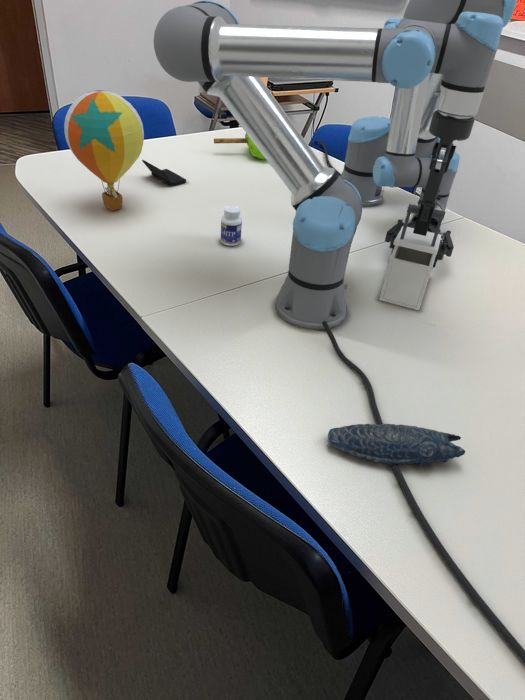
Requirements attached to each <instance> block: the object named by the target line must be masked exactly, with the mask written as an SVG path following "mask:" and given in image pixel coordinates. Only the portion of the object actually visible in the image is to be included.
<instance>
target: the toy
mask: <svg viewBox="0 0 525 700" xmlns="http://www.w3.org/2000/svg"><path fill="white" fill-rule="evenodd" d="M63 128H64V130H63V131H64V132H63V133H64V137H65V141H66V144H67V146H68V148H69V150H70V151H71V152H72V154H73V156H75V158H76V159H77V161H78V162H80V163H81V165H83V166H84V167H85V168H86V169H87V170H88V171H90V172H91V173H92V174H93V175H94V176H96V177H97V178H98V179H100V180H101V183H102V184H101V185H102V187H103V191H102V193H101V198H102V203H103V205H104V207H105V208H106V209H108V210H109V211H110V212H113V211H118V210H121V209H122V208H123V203H124V201H123V195H122V194H121V193H120V192H119V191H118V190H119V188H120V183H118V182H120V181H121V178H122V177H123V176H124V175H125V174H126V173H127V172H128V171H129V170H130V169H131V167H133V165H134V164H135V163H136V161H137V160H138V159H139V158H140V155H141V153H142V150H143V147H144V141H145V131H144V130H145V129H144V125H143V121H142V119H141V116H140V114H139V113H138V111H137V109H136V108H134V106H133V105H132V103H130V102H129V101H128V100H127V99H126V98H124V97H123V96H122V95H119V94H117V93H115V92H112V91H109V90H102V89H101V90H100V89H98V90H92V91H87V92H85V93H82V95H79V96H78V97H77V98H76V99H75V100H73V102H72V103H71V105H70V107H69V108H68V111H67V112H66V114H65V118H64V124H63ZM104 183H105V184H106V185H107V186H106V187H105V186H104ZM115 183H118V185H117V190H116V188H115Z"/></svg>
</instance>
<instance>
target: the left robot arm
mask: <svg viewBox="0 0 525 700" xmlns="http://www.w3.org/2000/svg"><path fill="white" fill-rule="evenodd" d="M503 29H504V27H503V20H502V18H501V17H499V16H497V15H493V14H487V13H479V12H462V13H461V14H460V15H459V18H458V20H457V21H456V24H440V23H433V22H426V21H418V20H411V19H408V18H403V17H401V18H396V17H389V18H388V19H387V20H386V21H385V22H384V25H383V27H382V28H379V27H351V26H350V27H349V26H347V27H346V26H312V25H277V24H273V25H272V24H240V22H239V19H238V18H237V16H236V15H235V13H234V12H233V11H232V10H231V9H229V8H228V7H227V6H225V5H224V4H222V3H220V2H217V1H213V0H199V1H195V2H193V3H191V4H187V5H180V6H176V7H173V8H171V9H169V10H168V11H166V12H165V13H164V14H163V15H161V17H160V19H159V20H158V22H157V24H156V26H155V29H154V33H153V49H154V54H155V57H156V59H157V61H158V63H159V65H160V67H161V68H162V69H163V70H164V72H165V73H167V74H168V75H169V76H170V77H171V78H174V79H176V80H178V81H181V82H186V83H195V82H197V84H199V86H200V87H201V88H202V89H203V91H204V92H205V93H206V95H208V96H215V97H218V98H219V99H220V101H222V103H223V104H224V105H225V107H226V108H227V110H228V111H229V112H230V113H231V115H232V116H233V117H234V119H235V120H236V122H237V123H238V124H239V125H240V127H241V128H242V130H243V131H244V132H245V134H246V133H247V135H248V136H249V137H250V139H251V140H252V141H253V143H254V144H255V145H256V146H257V148H258V149H259V150H260V152H261V153H262V154H263V156H264V157H265V158H266V159H265V160H266V162H267V163H268V164H269V165H270V166H271V168H272V169H273V170H274V172H275V174H277V176H278V177H279V178H280V180H281V181H282V182H283V184H284V185H285V186H286V187H287V190H288V191H290V195H291V196H290V205H291V206H292V208H293V210H295V215H294V218H293V219H292V237H291V246H290V255H289V262H288V263H289V264H288V270H287V271H288V272H287V275H286V278H285V279H284V282H283V283H282V285H281V287H280V290H279V291H278V294H277V296H276V300H275V311H276V313H277V315H278V316H279V317H280V318H281V319H282V320H283V321H284V322H286V323H287V324H289V325H291V326H293V327H296V328H300V329H304V330H310V331H324V330H325V333H326V334H327V336H328V338H329V340H330V342H331V345H332V347H333V350H334V351H335V353H336V355H337V356H338V357H339V359H340V360H341V361H342V362H343V363H345V365H346V366H347V367H349V368H350V369H351V370H352V371H353V372H355V373H356V374H357V375H358V376H359V378H360V379H361V381H362V382H363V384H364V385H365V388H366V391H367V395H368V399H369V404H370V408H371V410H372V414H373V417H374V420H375V423H376V424H384V422H383V420H382V416H381V414H380V411H379V408H378V405H377V400H376V397H375V396H376V395H375V393H374V389H373V386H372V384H371V382H370V380H369V378H368V377H367V375H366V374H365V373H364V371H363V370H362V369H361V368H360V367H358V366H357V365H356V364H355V363H353V362H352V361H351V360H350V359H349V358H348V357H347V356H346V355H345V354H344V353H343V351H342V350H341V348H340V347H339V344H338V342H337V339H336V337H335V335H334V333H333V331H332V329H333V328H336V327H337V326H339V325H340V324H342V323H343V322H344V320H345V318H346V315H347V310H348V305H347V297H346V291H347V290H348V284H346V283H344V280H345V275H346V271H347V267H348V266H347V265H348V260H349V257H350V251H351V247H352V244H353V240H354V237H355V235H356V232H357V229H358V226H359V224H360V222H361V219H362V215H363V206H362V201H361V197H360V194H359V192H358V190H357V189H356V188H355V187H354V185H352V184H351V183H350V182H348V181H346V180H342V179H341V177H340V176H339V174H338V173H337V172H336V170H337V169H336V168H335V167H334V168H335V169H336V170H335V169H334V168H330V167H329V166H328V167H327V166H325V165H323V163H322V162H321V161H320V159H319V158H318V157H317V155H316V154H315V152H314V151H313V150H312V148H311V147H310V145H309V144H308V142H307V140H305V138H304V137H303V135H302V134H301V133H300V131H299V130H298V128H297V127H296V126H295V124H294V123H293V121H292V120H291V119H290V117H289V116H288V115H287V113H286V112H285V110H284V109H283V108H282V106H281V105H280V103H279V102H278V100H277V99H276V98H275V96H274V95H273V94H272V92H271V90H270V89H269V87H268V86H267V84H265V82H264V81H263V79H262V78H269V79H270V78H271V79H272V78H275V79H295V80H297V79H298V80H320V81H341V82H365V83H366V82H368V83H378V84H390V85H392V86H393V87H395V88H396V87H397V88H401V89H408V88H412V87H415V86H417V85H418V84H420V83H421V82H422V81H423V80H424V79H425V78H426V77H427V76H428V75H429V73H435V74H443V79H442V82H441V87H440V90H436V92H435V95H437V96H439V97H438V98H437V102H436V106H435V108H436V109H437V111H435V112H434V113H433V116H432V120H431V123H430V127H429V132H430V133H431V134H432V135H433V136H435V137H439V138H440V142H439V143H438V142H436V143H435V146H434V148H433V151H432V159H431V163H430V167H429V169H430V174H429V177H428V181H427V185H426V188H425V192H424V196H423V199H422V200H419V199H418V202H417V205H418V204H421V206H420V210H419V213H418V217H417V220H416V224H415V228H414V231H413V233H415V234H419V235H423V236H426V234H427V232H428V228H429V225H430V222H431V218H432V214H433V211H434V208H435V205H436V202H437V201H436V200H439V201H440V199H441V196H438V193H439V192H440V186H441V183H442V180H443V177H444V173H446V172H447V170H448V167H449V165H450V161H451V159H452V158H453V155H454V152H456V149H457V145H454V141H458V142H463V141H466V140H468V139H470V136H471V133H472V130H473V127H474V124H475V121H476V120H475V116H476V115H477V114H478V112H479V108H480V105H481V102H482V99H483V96H484V94H485V93H484V92H485V88H486V86H487V82H488V80H489V76H490V72H491V69H492V67H493V64H494V61H495V58H496V56H497V55H496V54H497V52H498V50H499V44H500V40H501V35H502V33H503ZM390 465H391V467H392V470H393V472H394V474H395V477H396V479H397V482H398V483H399V486H400V488H401V490H402V492H403V494H404V496H405V498H406V500H407V502H408V504H409V506H410V508H411V510H412V511H413V513H414V515H415V516H416V518H417V520H418V522H419V524H420V525H421V527H422V528H423V530H424V532H425V533H426V535H427V537H428V539H429V540H430V541H431V543H432V544H433V546H434V548H435V550H436V551H437V553H438V554H439V555H440V557H441V558H442V559H443V561H444V563H445V564H446V565H447V566H448V568H449V569H450V571H451V573H453V575H454V576H455V578H456V579H457V580H458V582H459V584H460V585H461V586H462V587H463V589H464V590H465V591H466V593H467V594H468V595H469V596H470V598H471V599H472V600H473V602H474V603H475V604H476V605H477V607H478V608H479V609H480V611H481V612H482V613H483V614H484V616H485V617H486V618H487V620H488V621H489V622H490V623H491V624H492V626H493V627H494V628H495V629H496V630H497V631H498V633H499V634H500V635H501V636H502V638H503V639H504V640H505V642H506V643H507V644H508V645H509V646H510V647H511V649H512V650H513V651H514V653H516V655H517V656H518V657H519V658H520V660H521V661H522V662H523V663H524V664H525V649H524V647H523V646H522V645H521V644H520V643H519V641H518V640H517V639H516V638H515V637H514V635H513V634H512V633H511V631H509V629H508V628H507V627H506V626H505V624H503V622H502V621H501V620H500V618H499V617H498V616H497V615H496V614H495V612H494V611H493V610H492V609H491V608H490V607H489V605H488V604H487V603H486V601H485V600H484V599H483V597H481V595H480V594H479V593H478V591H477V590H476V589H475V587H474V586H473V585H472V584H471V582H470V581H469V580H468V579H467V577H466V576H465V574H464V573H463V572H462V570H461V569H460V568H459V566H458V565H457V564H456V562H455V561H454V559H453V557H452V556H451V555H450V554H449V552H448V550H446V548H445V547H444V545H443V544H442V542H441V540H440V539H439V537H438V536H437V534H436V533H435V531H434V530H433V528H432V526H431V525H430V523H429V521H428V520H427V517H425V515H424V513H423V512H422V510H421V508H420V506H419V505H418V503H417V500H416V499H415V497H414V495H413V493H412V491H411V488H410V487H409V485H408V483H407V481H406V479H405V476H404V474H403V472H402V470H401V468H400V465H396V464H390Z"/></svg>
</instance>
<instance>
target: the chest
mask: <svg viewBox="0 0 525 700" xmlns="http://www.w3.org/2000/svg"><path fill="white" fill-rule="evenodd" d="M391 253H392V254H391ZM391 253H390V257H389V260H388V264H387V268H386V272H385V274H384V279H383V283H382V287H381V291H380V295H379V298H378V300H379V301H382V302H385V303H389V304H393V305H396V306H400V307H404V308H408V309H411V310H414V311H415V310H416V311H420V307H421V305H422V302H423V299H424V296H425V293H426V289H427V286H428V283H429V280H430V276H431V274H432V271H433V264H434V260H435V257H436V255H435V254H431V253H426V252H422V251H418V250H414V249H409V248H405V247H401V246H397V245H395V247H394V250H393V252H392V251H391Z"/></svg>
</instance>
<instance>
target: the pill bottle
mask: <svg viewBox="0 0 525 700" xmlns="http://www.w3.org/2000/svg"><path fill="white" fill-rule="evenodd" d="M242 227H243V219H242V217H241V208H240V207H238V206H235V205H227V206H225V207H224V209H223V215H222V216H221V219H220V242H221V243H222V244H223V245H226V246H229V247H231V246H232V247H234V246H238V245H239V244H240V243H241V241H242Z"/></svg>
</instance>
